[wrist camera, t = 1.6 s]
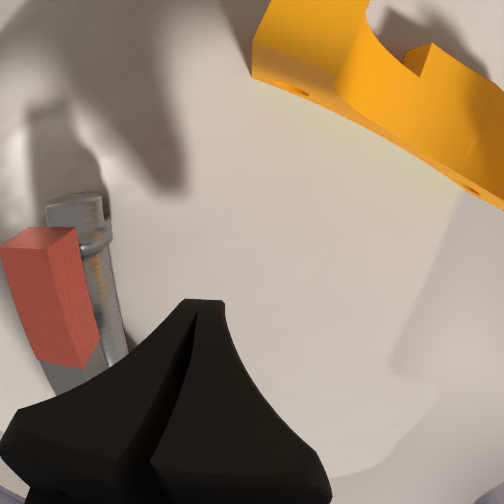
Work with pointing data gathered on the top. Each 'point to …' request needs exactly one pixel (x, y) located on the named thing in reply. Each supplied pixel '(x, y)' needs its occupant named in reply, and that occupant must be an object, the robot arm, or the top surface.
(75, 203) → the cylinder
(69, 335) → the lever
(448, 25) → the top surface
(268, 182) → the top surface
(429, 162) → the pipe clamp
